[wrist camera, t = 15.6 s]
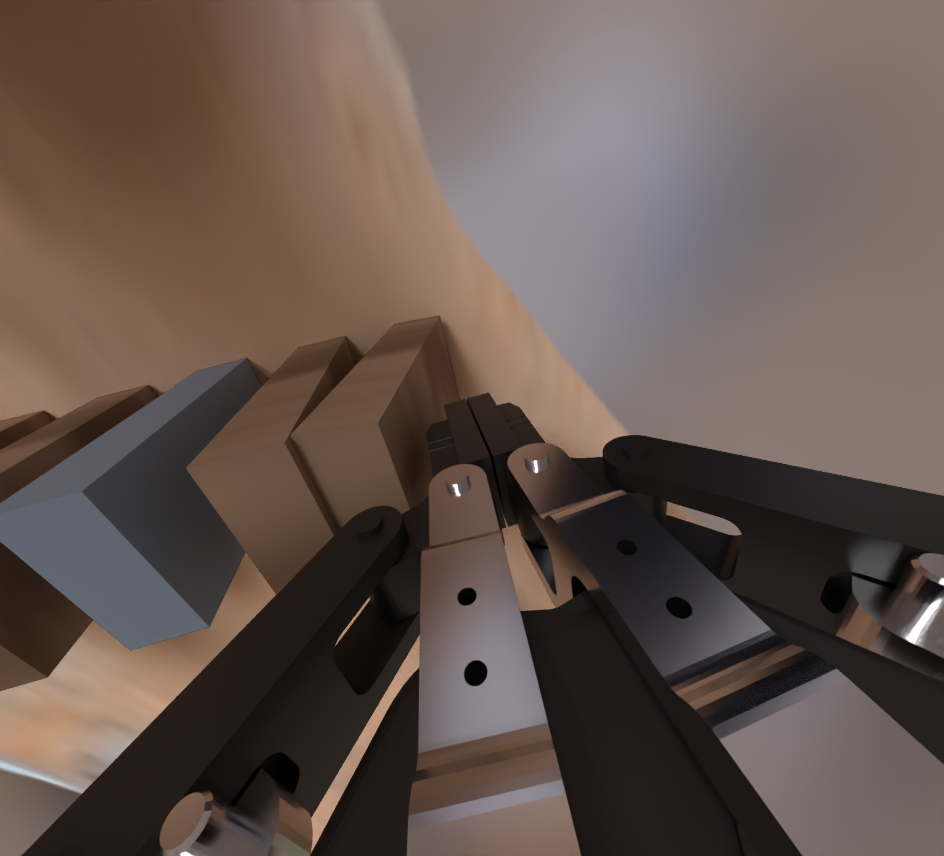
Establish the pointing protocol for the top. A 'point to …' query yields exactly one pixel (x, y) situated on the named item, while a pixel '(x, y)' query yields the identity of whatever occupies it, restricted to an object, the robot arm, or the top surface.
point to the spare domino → (138, 516)
